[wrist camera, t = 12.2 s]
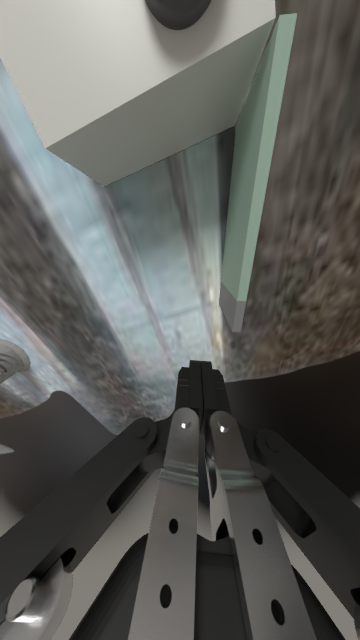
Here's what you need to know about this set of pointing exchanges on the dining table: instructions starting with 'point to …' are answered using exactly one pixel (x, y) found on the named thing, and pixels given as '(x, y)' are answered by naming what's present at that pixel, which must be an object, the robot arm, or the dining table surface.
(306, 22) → the dining table surface
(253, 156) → the side door
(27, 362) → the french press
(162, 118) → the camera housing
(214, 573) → the robot arm
